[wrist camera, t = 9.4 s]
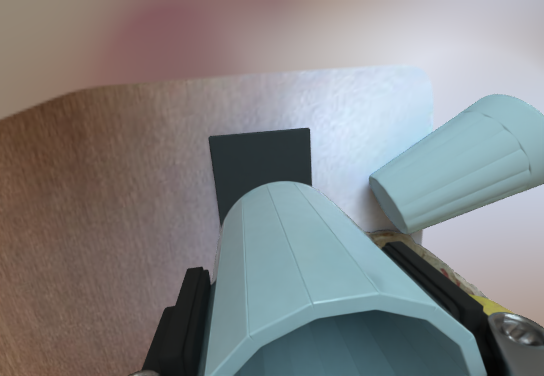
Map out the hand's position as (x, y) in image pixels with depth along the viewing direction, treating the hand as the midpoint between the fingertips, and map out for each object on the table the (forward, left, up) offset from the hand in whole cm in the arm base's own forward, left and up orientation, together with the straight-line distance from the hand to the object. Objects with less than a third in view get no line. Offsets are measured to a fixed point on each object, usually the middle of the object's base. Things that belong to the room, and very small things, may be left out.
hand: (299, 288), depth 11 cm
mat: (0, 0, -13) cm, 13 cm away
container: (0, 0, -4) cm, 4 cm away
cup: (+4, +12, -8) cm, 15 cm away
